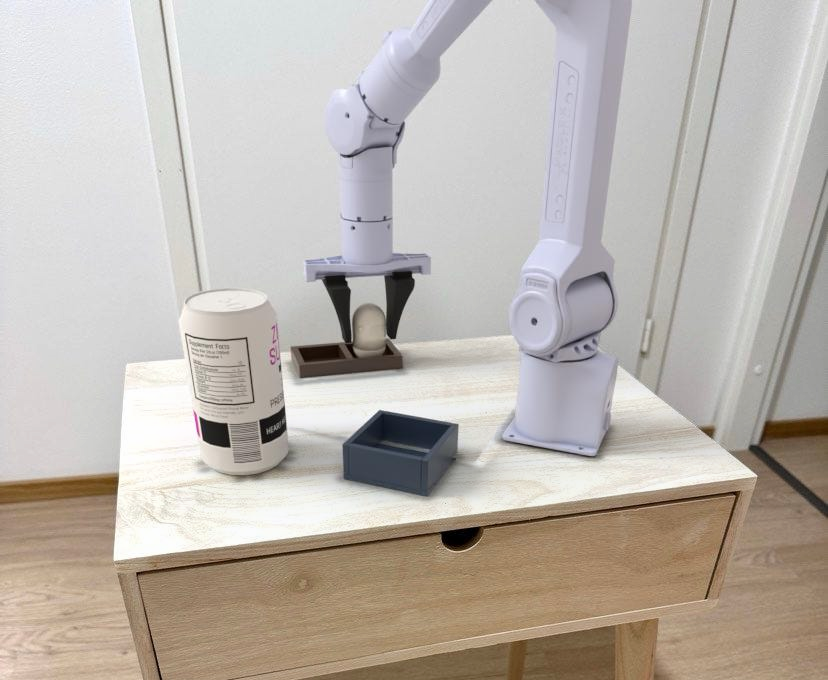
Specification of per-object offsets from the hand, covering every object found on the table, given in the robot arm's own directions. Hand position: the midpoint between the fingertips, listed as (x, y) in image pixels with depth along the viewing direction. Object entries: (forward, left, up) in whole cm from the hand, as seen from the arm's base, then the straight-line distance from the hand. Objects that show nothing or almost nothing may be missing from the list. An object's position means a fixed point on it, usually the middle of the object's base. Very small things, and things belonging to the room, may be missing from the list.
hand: (369, 338), depth 91 cm
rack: (+2, +2, -3) cm, 4 cm away
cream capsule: (0, 0, -3) cm, 3 cm away
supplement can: (+1, +27, -4) cm, 27 cm away
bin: (-14, +23, -3) cm, 27 cm away
